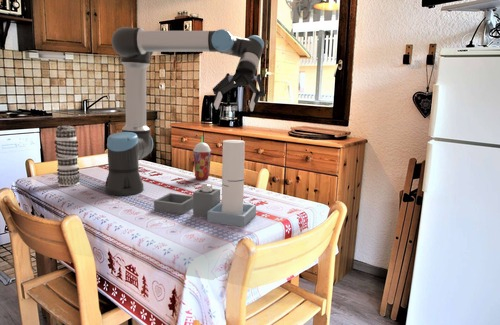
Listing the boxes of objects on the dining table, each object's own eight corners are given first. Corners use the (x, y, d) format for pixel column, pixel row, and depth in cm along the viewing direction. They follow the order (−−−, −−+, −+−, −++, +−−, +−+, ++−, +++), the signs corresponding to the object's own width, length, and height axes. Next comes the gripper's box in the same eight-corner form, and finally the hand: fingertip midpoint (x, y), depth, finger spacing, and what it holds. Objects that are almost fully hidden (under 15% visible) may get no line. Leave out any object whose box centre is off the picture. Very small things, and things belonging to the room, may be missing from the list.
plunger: (199, 197, 132) (199, 185, 131) (204, 194, 135) (204, 183, 135) (209, 198, 131) (209, 186, 130) (213, 195, 134) (213, 184, 134)
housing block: (193, 214, 132) (193, 192, 131) (201, 209, 139) (201, 187, 137) (212, 217, 130) (212, 194, 128) (219, 211, 137) (220, 189, 135)
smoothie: (213, 177, 186) (214, 136, 182) (206, 181, 178) (206, 138, 174) (198, 175, 188) (198, 135, 184) (189, 179, 181) (189, 137, 177)
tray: (207, 221, 126) (207, 211, 125) (221, 210, 138) (222, 200, 137) (244, 227, 122) (244, 216, 122) (255, 214, 134) (256, 205, 133)
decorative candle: (56, 187, 160) (52, 127, 155) (57, 182, 168) (53, 125, 163) (80, 186, 164) (77, 127, 159) (80, 181, 172) (77, 124, 167)
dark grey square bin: (154, 210, 135) (153, 200, 135) (169, 202, 146) (169, 193, 145) (182, 214, 132) (182, 204, 132) (196, 205, 142) (196, 196, 142)
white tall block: (240, 219, 126) (242, 143, 121) (219, 217, 127) (220, 142, 122) (244, 212, 133) (246, 140, 128) (224, 211, 134) (226, 139, 129)
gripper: (279, 75, 151) (268, 116, 139) (219, 73, 158) (204, 113, 147) (276, 60, 145) (264, 102, 133) (215, 59, 152) (198, 99, 141)
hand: (233, 107), depth 140 cm, fingers open, 13 cm apart
